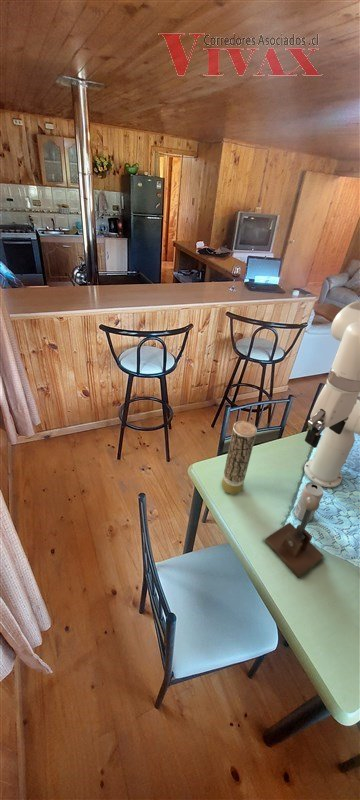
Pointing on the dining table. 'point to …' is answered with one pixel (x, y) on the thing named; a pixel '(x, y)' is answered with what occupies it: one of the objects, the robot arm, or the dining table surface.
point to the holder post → (306, 516)
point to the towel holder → (294, 549)
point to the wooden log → (238, 456)
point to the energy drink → (308, 490)
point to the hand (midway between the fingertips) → (322, 437)
